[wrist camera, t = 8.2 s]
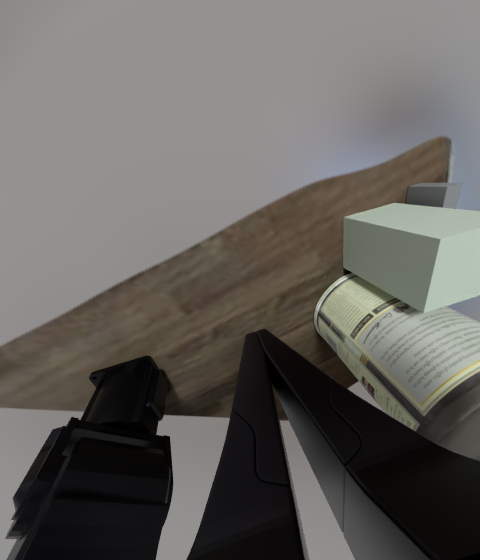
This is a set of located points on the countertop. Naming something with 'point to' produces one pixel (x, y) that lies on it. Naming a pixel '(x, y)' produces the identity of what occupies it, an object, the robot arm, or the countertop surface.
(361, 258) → the tea tin
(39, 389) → the countertop surface
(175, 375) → the countertop surface
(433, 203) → the price rail
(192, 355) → the countertop surface
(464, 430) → the coffee can
